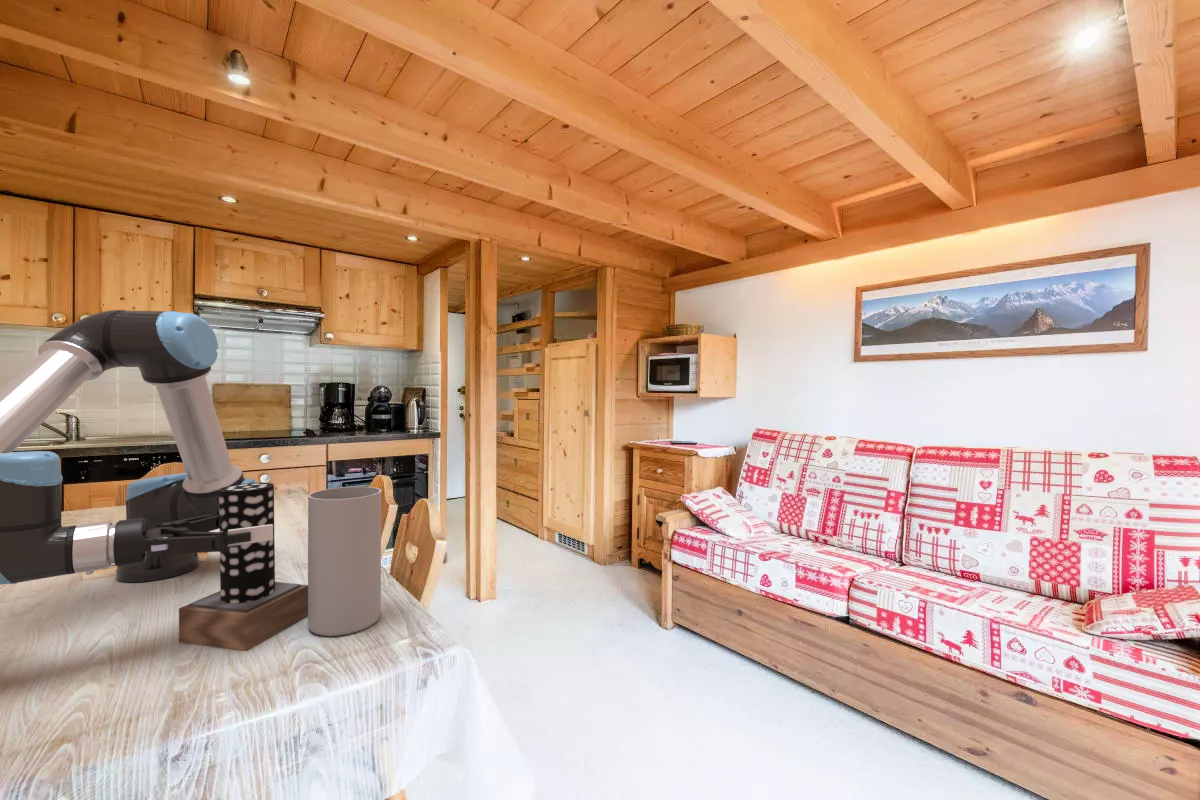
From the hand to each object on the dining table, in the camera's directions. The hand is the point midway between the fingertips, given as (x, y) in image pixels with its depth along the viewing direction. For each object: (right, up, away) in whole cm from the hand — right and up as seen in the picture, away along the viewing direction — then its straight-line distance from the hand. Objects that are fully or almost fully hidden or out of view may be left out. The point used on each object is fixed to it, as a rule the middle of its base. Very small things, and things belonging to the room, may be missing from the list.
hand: (268, 523), depth 96 cm
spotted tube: (-2, -13, -2) cm, 13 cm away
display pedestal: (-3, -19, -2) cm, 19 cm away
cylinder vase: (+14, -19, +1) cm, 24 cm away
